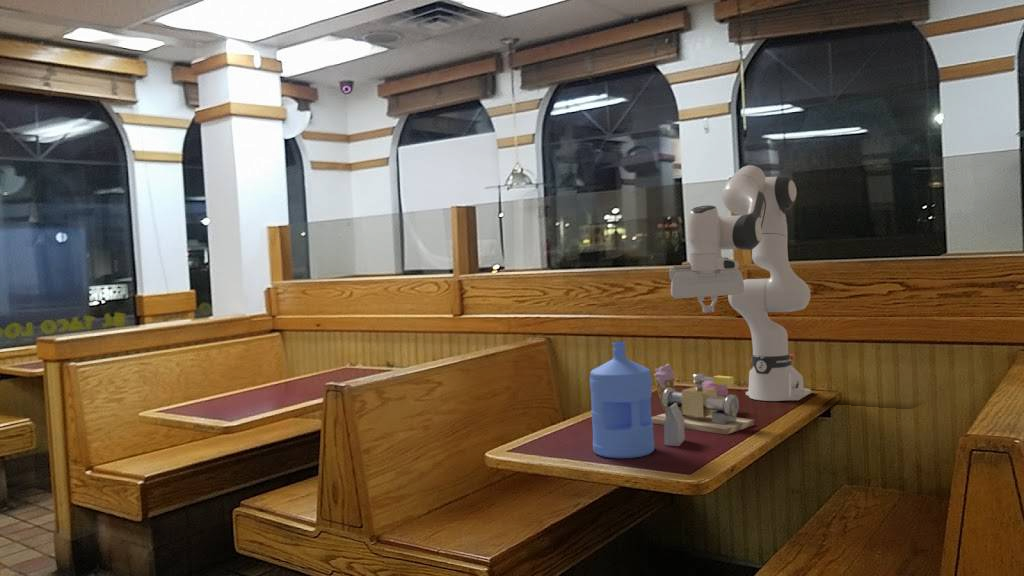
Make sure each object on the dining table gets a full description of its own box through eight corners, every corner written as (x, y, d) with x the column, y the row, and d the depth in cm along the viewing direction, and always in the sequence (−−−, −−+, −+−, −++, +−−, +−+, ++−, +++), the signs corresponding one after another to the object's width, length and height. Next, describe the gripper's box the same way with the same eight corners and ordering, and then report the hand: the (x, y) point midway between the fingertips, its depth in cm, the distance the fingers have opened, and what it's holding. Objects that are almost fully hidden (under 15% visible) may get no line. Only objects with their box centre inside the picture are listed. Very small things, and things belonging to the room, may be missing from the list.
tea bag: (684, 440, 222) (683, 402, 221) (678, 446, 215) (677, 407, 215) (671, 439, 223) (669, 402, 223) (664, 445, 217) (663, 407, 217)
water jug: (582, 449, 217) (577, 342, 215) (633, 441, 223) (629, 337, 222) (612, 462, 202) (607, 348, 201) (667, 453, 209) (662, 342, 207)
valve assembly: (677, 414, 254) (675, 375, 253) (753, 425, 235) (752, 382, 234) (649, 422, 244) (647, 382, 244) (726, 434, 225) (724, 390, 224)
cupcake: (722, 415, 249) (721, 382, 248) (695, 413, 253) (693, 381, 253) (732, 410, 256) (731, 377, 255) (705, 408, 261) (704, 376, 260)
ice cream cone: (675, 413, 256) (673, 364, 255) (654, 413, 257) (652, 365, 256) (675, 408, 262) (673, 361, 261) (655, 409, 263) (653, 362, 263)
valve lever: (690, 381, 239) (690, 375, 239) (697, 380, 241) (696, 373, 241) (728, 385, 230) (727, 378, 230) (734, 383, 232) (734, 376, 232)
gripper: (670, 266, 232) (672, 315, 234) (744, 261, 231) (746, 311, 232) (667, 265, 239) (669, 313, 240) (739, 260, 237) (741, 308, 238)
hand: (708, 312), depth 236 cm, fingers closed
